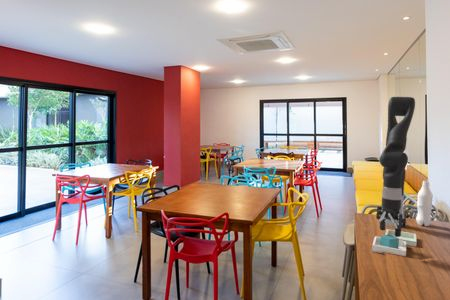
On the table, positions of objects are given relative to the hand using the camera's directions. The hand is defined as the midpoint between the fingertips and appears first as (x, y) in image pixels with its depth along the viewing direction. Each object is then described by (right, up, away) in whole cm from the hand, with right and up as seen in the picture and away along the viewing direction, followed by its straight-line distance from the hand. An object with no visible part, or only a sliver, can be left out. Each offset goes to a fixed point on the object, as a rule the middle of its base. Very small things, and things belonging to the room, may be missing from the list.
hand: (389, 233), depth 134 cm
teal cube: (0, -7, 0) cm, 7 cm away
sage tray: (+11, -7, +11) cm, 17 cm away
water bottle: (+39, -6, +37) cm, 54 cm away
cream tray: (0, -7, 0) cm, 7 cm away
